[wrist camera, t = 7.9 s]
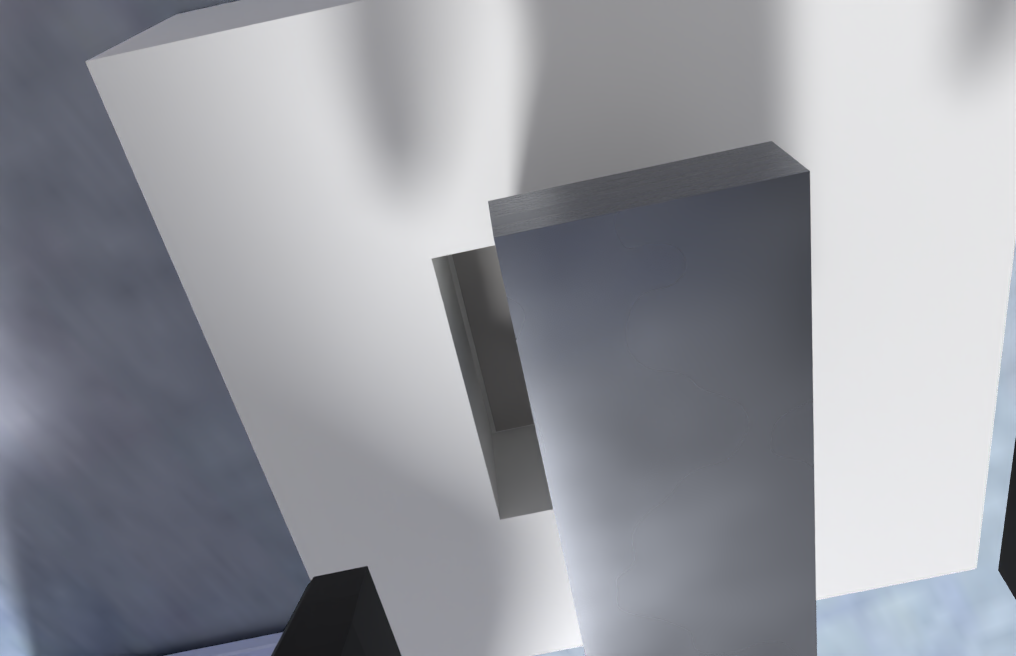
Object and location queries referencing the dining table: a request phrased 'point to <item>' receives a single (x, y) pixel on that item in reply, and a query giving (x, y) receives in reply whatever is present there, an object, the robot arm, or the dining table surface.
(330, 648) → the robot arm
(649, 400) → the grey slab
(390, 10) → the well block
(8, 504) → the dining table surface
